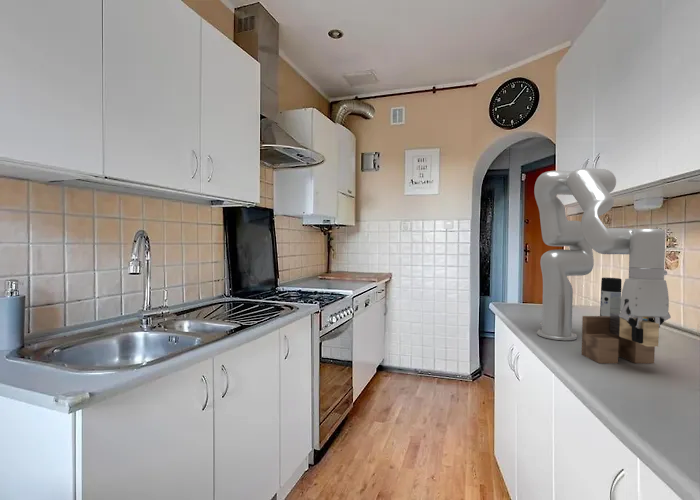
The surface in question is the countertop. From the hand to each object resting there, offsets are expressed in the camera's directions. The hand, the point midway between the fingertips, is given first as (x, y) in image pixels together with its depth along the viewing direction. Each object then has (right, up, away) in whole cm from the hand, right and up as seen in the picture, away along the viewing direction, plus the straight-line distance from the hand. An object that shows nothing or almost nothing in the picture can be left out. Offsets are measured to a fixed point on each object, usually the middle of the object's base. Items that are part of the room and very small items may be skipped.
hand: (643, 341), depth 101 cm
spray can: (+24, -7, +47) cm, 53 cm away
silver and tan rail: (0, 0, +4) cm, 4 cm away
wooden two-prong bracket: (0, -8, +10) cm, 13 cm away
